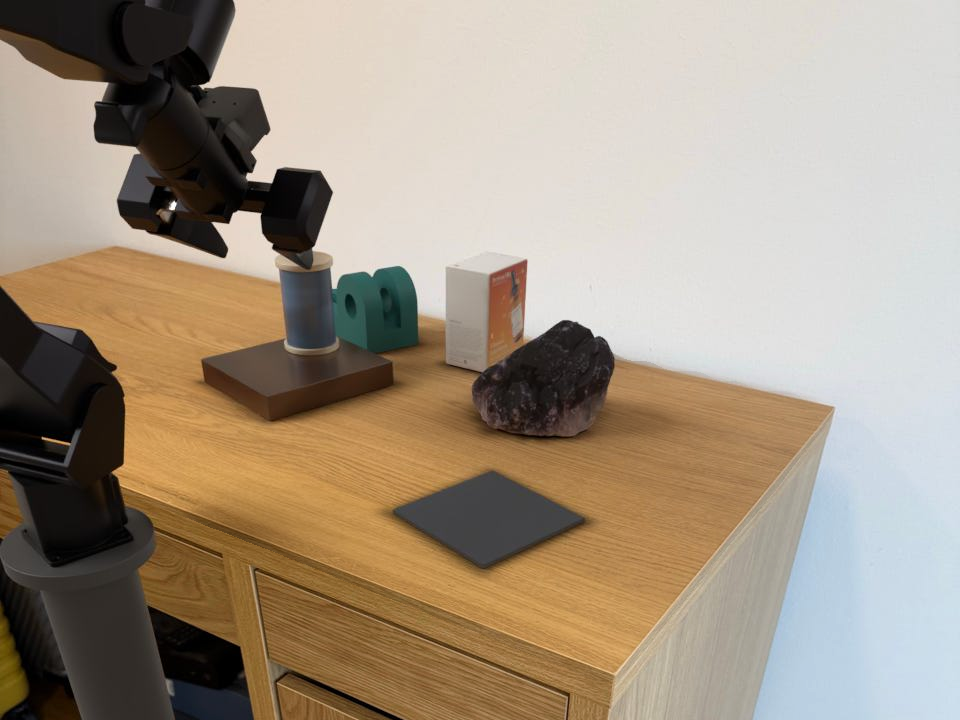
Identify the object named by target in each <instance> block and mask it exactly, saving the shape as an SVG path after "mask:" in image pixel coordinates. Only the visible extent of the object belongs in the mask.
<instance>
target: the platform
mask: <svg viewBox="0 0 960 720" xmlns="http://www.w3.org/2000/svg"><path fill="white" fill-rule="evenodd" d="M336 337H337V338H338V339H339V347H338V349H337V350H335V351H333V352H331V353H327V354H323V355H314V356H305V355H297V354H293V353H290V352H288V351H287V350H286V349H285V347H284V341H285V339H286V337H285V338H282V339H278V340H274V341H269V342H264V343H262V344H257V345H253V346H249V347H245V348H241V349H237V350H233V351H228V352H223V353H221V354H217V355H216V354H215V355H211V356H208V357H204V358H201V359H200V362H201V363H200V364H201V368H202V374H203V375H202V376H203V380H204V383H205V384H207V385H209V386H211V387H212V388H214V389H215V390H217V391H219V392H221V393H222V394H224V395H225V396H227V397H229V398H230V399H232V400H234V401H236V402H237V403H238V404H241V405H242V406H244V407H246V408H247V409H249V410H251V411H252V412H253V413H256V414H257V415H259V416H261V417H262V418H264V419H266V420H267V421H269V422H272V421H275V420H280V419H282V418H286V417H289V416H292V415H296V414H300V413H303V412H305V411H309V410H313V409H315V408H319V407H323V406H326V405H329V404H332V403H336V402H339V401H342V400H346V399H350V398H353V397H357V396H359V395H363V394H367V393H370V392H372V391H373V392H374V391H376V390H379V389H383V388H387V387H389V386H393V385H394V362H393V361H392V360H390V359H388V358H386V357H383V356H382V355H379V354H377V353H373V352H371V351H368V350H366V349H364V348H362V347H360V346H357V345H355V344H353V343H351V342H349V341H346V340H344V339H342V338H340V337H338V336H336Z"/></svg>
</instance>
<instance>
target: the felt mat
mask: <svg viewBox="0 0 960 720" xmlns="http://www.w3.org/2000/svg"><path fill="white" fill-rule="evenodd" d="M392 514H393V515H395V516H396V517H398V518H400V519H401V520H402V521H404V522H406V523H407V524H410V526H412V527H414V528H415V529H417V530H419V531H421V532H422V533H424V534H426V535H427V536H429V537H430V538H432V539H434V540H435V541H437V542H439V543H440V544H441V545H443V546H445V547H446V548H448V549H450V550H451V551H453V552H455V553H456V554H458V555H459V556H461V557H463V558H464V559H466V560H467V561H469V562H471V563H472V564H474V565H476V566H478V567H479V568H481V569H482V570H484V569H487V568H488V567H489V568H490V567H491V566H493V565H496V564H498V563H499V562H502V561H504V560H506V559H508V558H510V557H512V556H514V555H517V554H519V553H521V552H523V551H525V550H527V549H529V548H532V547H534V546H536V545H538V544H540V543H543V542H544V541H547V540H548V539H551V538H553V537H555V536H557V535H560V534H561V533H563V532H566V531H568V530H570V529H572V528H574V527H577V526H579V525H581V524H583V523H585V521H586V520H585V519H586V518H585V517H584V516H582V515H581V514H578V513H576V512H574V511H573V510H570V509H569V508H567V507H565V506H563V505H561V504H559V503H557V502H556V501H553V500H551V499H549V498H548V497H545V496H544V495H542V494H540V493H538V492H536V491H534V490H532V489H530V488H528V487H526V486H524V485H522V484H520V483H518V482H516V481H515V480H512V479H511V478H508V477H506V476H504V475H503V474H501V473H500V472H499V473H498V472H497V471H495V470H490V471H487V472H485V473H482V474H480V475H477V476H474V477H472V478H470V479H467V480H464V481H462V482H459V483H457V484H453V485H451V486H449V487H447V488H444V489H441V490H439V491H436V492H433V493H430V494H429V495H426V496H423V497H420V498H418V499H416V500H413V501H411V502H408V503H405V504H403V505H401V506H397V507H395V508H393V509H392Z"/></svg>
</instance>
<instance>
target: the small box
mask: <svg viewBox="0 0 960 720" xmlns="http://www.w3.org/2000/svg"><path fill="white" fill-rule="evenodd" d="M527 279H528V258H524V257H519V256H514V255H509V254H503V253H500V252H499V253H498V252H493V251H489V250H488V251H487V250H485V251H483V252H481V253H480V254H476V255H475V256H472V257H469V258H466V259H463V260H462V261H458V262H456V263H453V264H448V265H446V266H445V363H446V364H447V365H451V366H455V367H459V368H462V369H466V370H471V371H474V372H475V371H476V372H479V373H482V372H484V371H485V370H486V369H487V368H488V367H490V366H493V365H495V364H496V363H498V362H499V361H501V360H502V359H504V358H506V357H507V356H508V355H510V354H511V353H512V352H514V351H515V350H517V349H518V348H520V347H522V346H523V345H524V337H525V336H524V334H525V318H526V317H525V316H526V296H527Z"/></svg>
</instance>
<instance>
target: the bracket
mask: <svg viewBox="0 0 960 720" xmlns="http://www.w3.org/2000/svg"><path fill="white" fill-rule="evenodd" d="M332 293H333V306H334V320H335V333H336V336H338V337H340V338H342V339H344V340H346V341H349V342H351V343H353V344H355V345H357V346H360V347H362V348H364V349H366V350H368V351H371V352H373V353H375V354H377V353H382V352H387V351H392V350H398V349H402V348H407V347H411V346H416V345H419V312H418V309H419V308H418V305H419V304H418V295H417V290H416V287H415V283H414V281H413V279H412V277H411V275H410V273H409V272H408V270H406V269H405V267H403V266H401V265H395V266H388V267H383V268H377V269H376V270H375V271H374V273H373V275H371V274H370V273H369V272H367V271H357V272H351V273H345V274H342V275H340V277H339V278H338V280H337V284H336V288H332Z"/></svg>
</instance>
